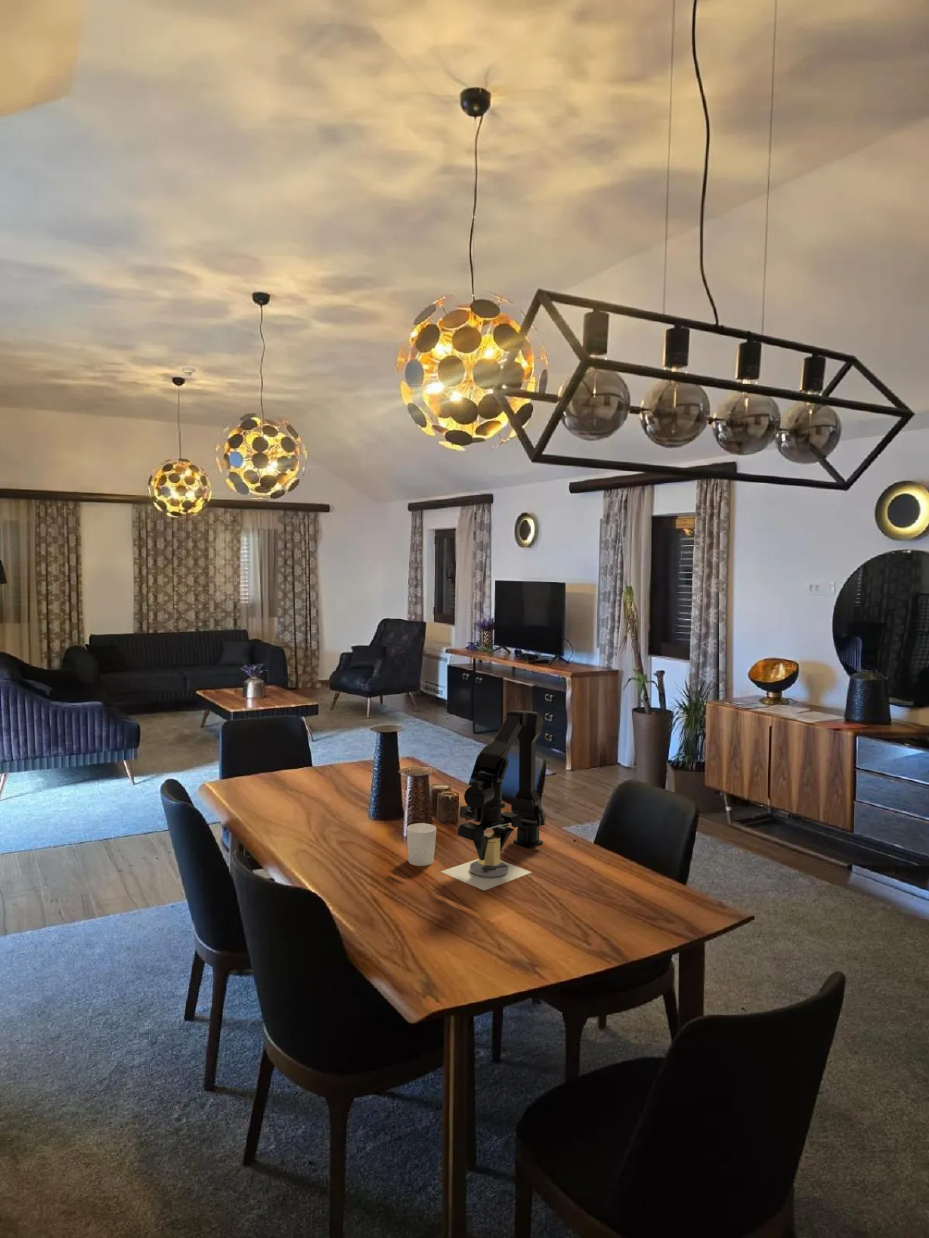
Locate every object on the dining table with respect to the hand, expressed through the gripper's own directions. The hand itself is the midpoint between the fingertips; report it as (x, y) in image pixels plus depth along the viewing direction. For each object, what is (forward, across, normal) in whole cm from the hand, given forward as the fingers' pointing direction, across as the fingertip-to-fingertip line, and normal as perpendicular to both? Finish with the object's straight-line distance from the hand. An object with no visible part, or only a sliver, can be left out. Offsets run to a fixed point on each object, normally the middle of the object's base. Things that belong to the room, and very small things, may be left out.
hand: (489, 857), depth 206 cm
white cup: (+5, +9, -17) cm, 20 cm away
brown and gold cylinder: (+1, 0, 0) cm, 1 cm away
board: (+4, +1, 0) cm, 5 cm away
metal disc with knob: (+4, 0, 0) cm, 4 cm away
